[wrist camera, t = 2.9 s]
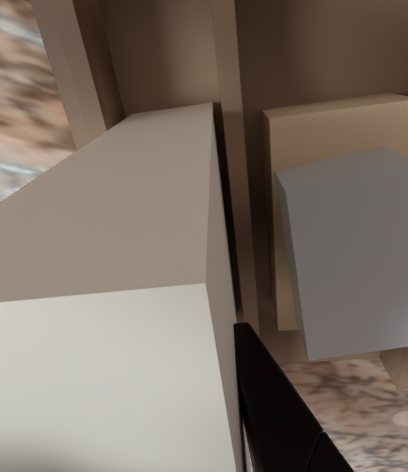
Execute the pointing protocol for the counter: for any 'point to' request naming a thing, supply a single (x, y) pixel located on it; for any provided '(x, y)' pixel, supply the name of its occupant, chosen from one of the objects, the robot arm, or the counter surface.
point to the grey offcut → (348, 251)
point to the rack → (228, 96)
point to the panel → (122, 307)
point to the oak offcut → (316, 149)
